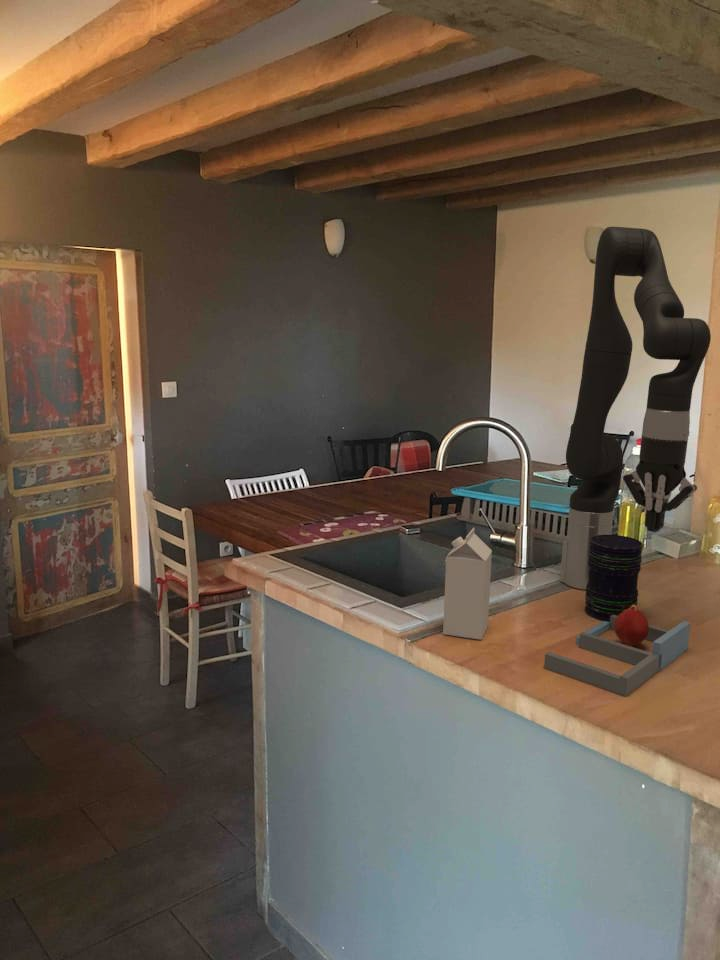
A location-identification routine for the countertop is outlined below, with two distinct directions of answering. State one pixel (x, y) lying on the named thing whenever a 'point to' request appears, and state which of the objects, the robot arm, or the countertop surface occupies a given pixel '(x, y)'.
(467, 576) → the milk carton
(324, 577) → the countertop surface
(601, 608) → the storage jar
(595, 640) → the channel organiser
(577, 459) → the robot arm
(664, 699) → the countertop surface
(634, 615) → the pomegranate
